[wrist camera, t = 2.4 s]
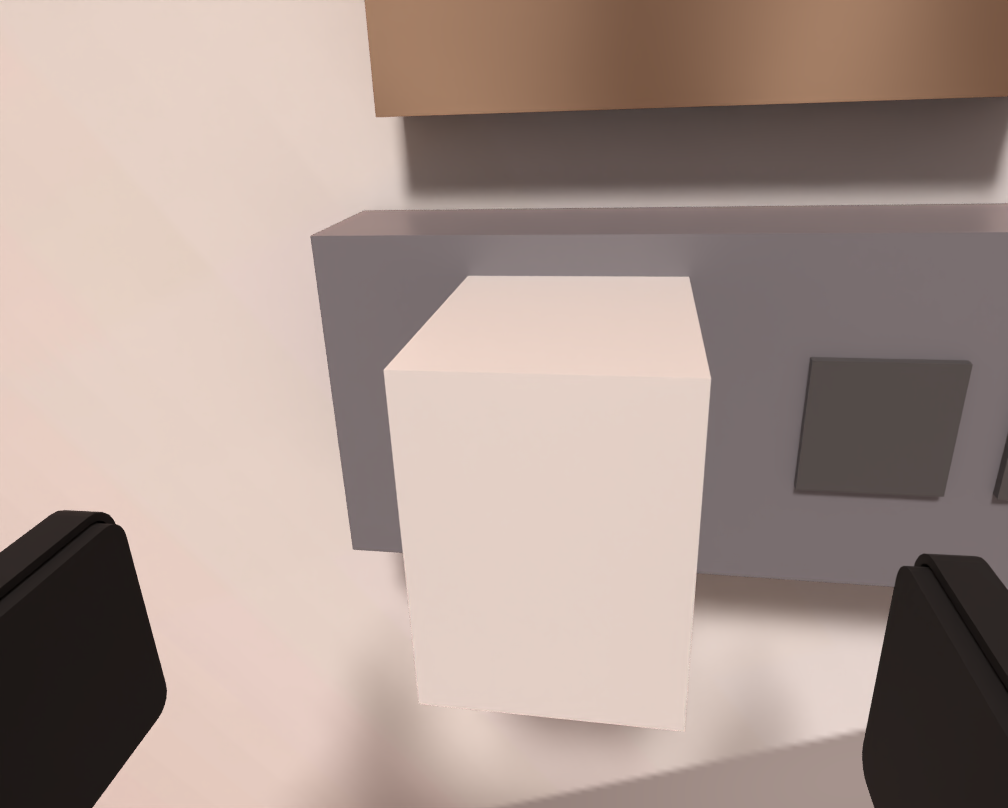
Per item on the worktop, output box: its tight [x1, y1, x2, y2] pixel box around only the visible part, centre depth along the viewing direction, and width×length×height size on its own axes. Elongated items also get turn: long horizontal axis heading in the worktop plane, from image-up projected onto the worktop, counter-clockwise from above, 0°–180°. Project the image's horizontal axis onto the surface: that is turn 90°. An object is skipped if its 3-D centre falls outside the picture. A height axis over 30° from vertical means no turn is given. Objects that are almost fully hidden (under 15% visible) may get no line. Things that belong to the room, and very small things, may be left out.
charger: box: [384, 276, 711, 732], centre depth 13 cm, size 4×6×6 cm
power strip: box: [311, 203, 1008, 589], centre depth 15 cm, size 18×7×4 cm, turn 92°
